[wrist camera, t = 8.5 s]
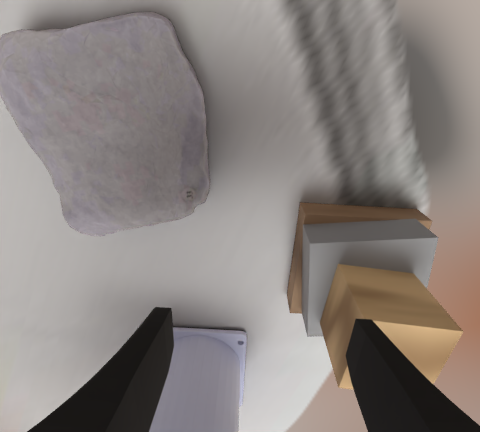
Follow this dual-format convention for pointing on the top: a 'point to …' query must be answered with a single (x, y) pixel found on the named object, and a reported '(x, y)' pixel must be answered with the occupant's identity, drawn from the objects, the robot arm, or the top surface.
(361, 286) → the oak cube
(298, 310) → the bottom slab
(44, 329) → the top surface
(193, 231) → the top surface
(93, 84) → the stone block
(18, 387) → the top surface
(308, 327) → the top slab
